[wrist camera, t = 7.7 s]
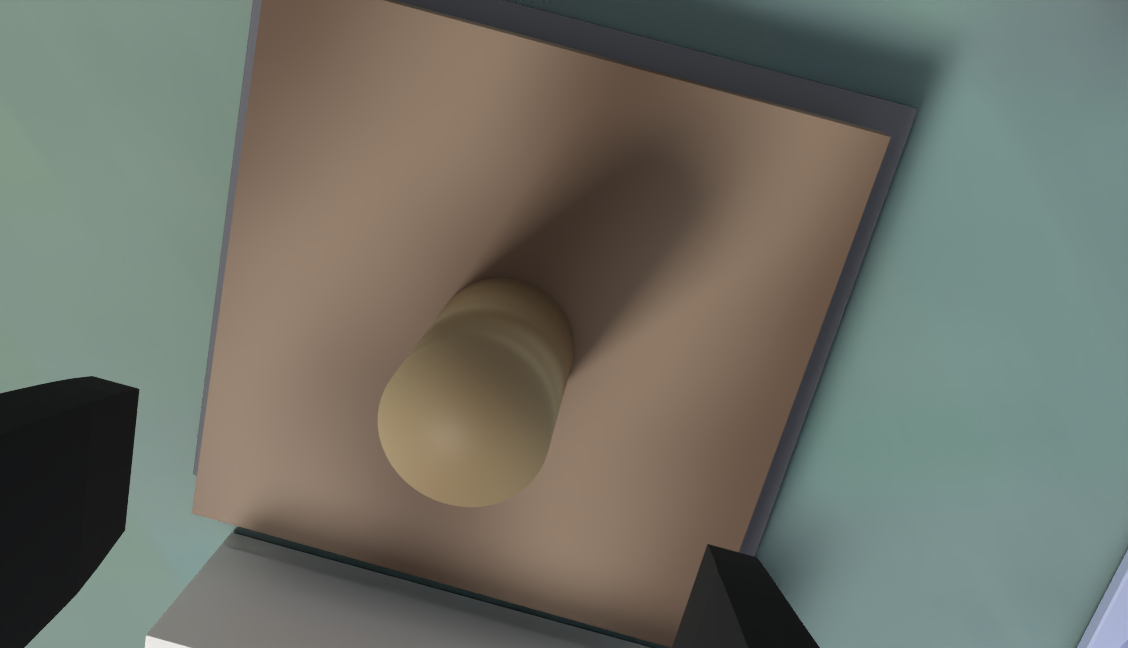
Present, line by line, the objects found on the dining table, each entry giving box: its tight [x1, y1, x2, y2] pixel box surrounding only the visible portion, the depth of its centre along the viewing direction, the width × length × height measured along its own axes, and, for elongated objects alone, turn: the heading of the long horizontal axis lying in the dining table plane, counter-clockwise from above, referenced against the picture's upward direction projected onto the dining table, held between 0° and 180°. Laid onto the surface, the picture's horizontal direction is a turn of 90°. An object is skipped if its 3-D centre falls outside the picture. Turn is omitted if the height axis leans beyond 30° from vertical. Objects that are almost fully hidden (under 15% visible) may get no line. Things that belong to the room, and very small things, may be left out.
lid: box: [192, 0, 891, 648], centre depth 18 cm, size 12×12×5 cm
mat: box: [193, 0, 918, 557], centre depth 20 cm, size 13×12×1 cm
